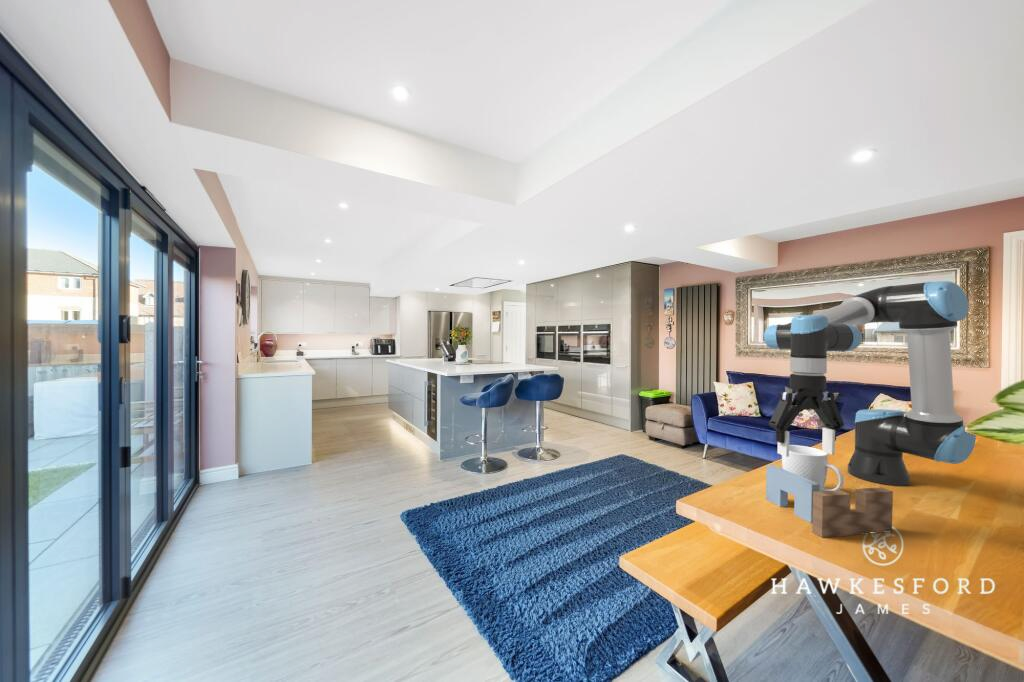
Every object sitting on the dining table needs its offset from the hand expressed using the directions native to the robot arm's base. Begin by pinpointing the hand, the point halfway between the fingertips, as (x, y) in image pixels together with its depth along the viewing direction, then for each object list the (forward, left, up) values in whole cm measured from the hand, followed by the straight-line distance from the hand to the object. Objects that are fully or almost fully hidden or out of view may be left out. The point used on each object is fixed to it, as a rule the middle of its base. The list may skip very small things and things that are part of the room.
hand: (805, 454), depth 98 cm
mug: (-15, -13, -17) cm, 26 cm away
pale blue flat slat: (0, -4, -17) cm, 18 cm away
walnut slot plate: (-5, +8, -17) cm, 19 cm away
